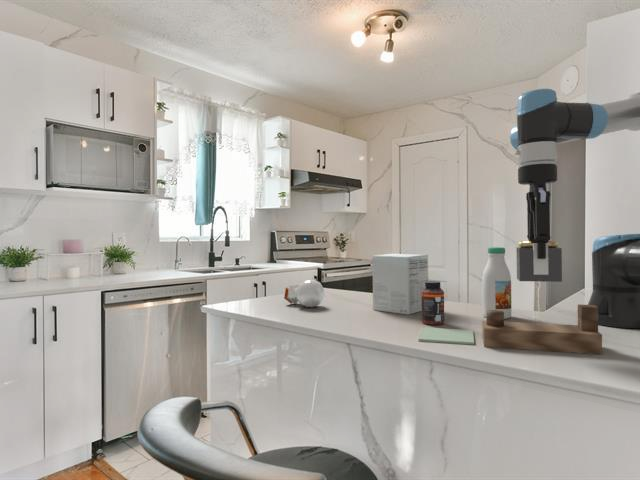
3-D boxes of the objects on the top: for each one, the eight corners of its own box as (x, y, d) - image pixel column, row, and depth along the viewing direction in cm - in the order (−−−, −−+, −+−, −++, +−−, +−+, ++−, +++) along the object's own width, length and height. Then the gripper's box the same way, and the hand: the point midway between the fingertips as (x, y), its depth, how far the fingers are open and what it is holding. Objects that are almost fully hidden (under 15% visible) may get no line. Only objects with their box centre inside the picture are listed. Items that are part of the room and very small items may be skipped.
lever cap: (556, 278, 94) (556, 240, 93) (561, 281, 89) (561, 241, 89) (516, 278, 96) (516, 241, 96) (519, 281, 91) (519, 241, 91)
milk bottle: (484, 319, 120) (483, 248, 120) (480, 313, 128) (480, 246, 127) (513, 320, 118) (513, 247, 118) (508, 314, 126) (508, 246, 125)
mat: (472, 332, 105) (472, 330, 105) (474, 344, 94) (474, 342, 94) (422, 329, 109) (422, 327, 109) (418, 341, 98) (418, 338, 98)
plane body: (590, 344, 93) (590, 303, 93) (601, 354, 86) (602, 309, 85) (482, 337, 100) (482, 299, 100) (484, 346, 92) (484, 305, 92)
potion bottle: (319, 314, 138) (289, 313, 149) (334, 293, 144) (304, 294, 155) (305, 292, 135) (275, 293, 145) (321, 272, 141) (291, 275, 151)
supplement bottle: (445, 326, 113) (445, 283, 112) (422, 325, 114) (421, 282, 114) (443, 321, 118) (443, 280, 118) (421, 320, 120) (421, 280, 119)
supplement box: (429, 308, 137) (429, 254, 137) (408, 315, 127) (408, 256, 127) (394, 304, 146) (393, 253, 146) (371, 310, 136) (371, 255, 136)
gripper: (513, 171, 102) (514, 268, 102) (523, 160, 84) (525, 277, 85) (548, 168, 99) (549, 269, 100) (566, 157, 82) (568, 278, 83)
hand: (538, 272), depth 92 cm, fingers closed on lever cap, 5 cm apart
